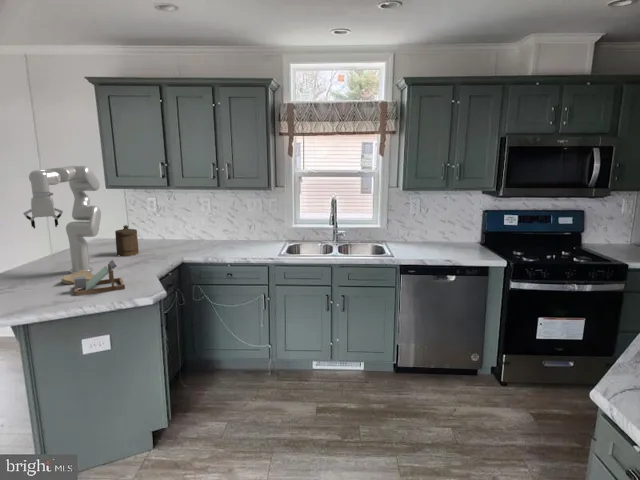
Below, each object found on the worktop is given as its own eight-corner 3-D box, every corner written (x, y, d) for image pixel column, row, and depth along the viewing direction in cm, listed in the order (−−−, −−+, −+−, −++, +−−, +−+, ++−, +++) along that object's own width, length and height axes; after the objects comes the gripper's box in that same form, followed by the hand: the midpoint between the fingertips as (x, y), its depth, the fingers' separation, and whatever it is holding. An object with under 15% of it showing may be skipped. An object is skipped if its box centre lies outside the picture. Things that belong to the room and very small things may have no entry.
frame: (74, 287, 218) (72, 267, 216) (121, 280, 230) (119, 262, 228) (75, 295, 204) (72, 275, 202) (125, 288, 216) (123, 269, 214)
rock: (100, 276, 241) (99, 269, 240) (96, 284, 227) (95, 277, 226) (66, 277, 235) (66, 270, 234) (60, 286, 221) (59, 278, 220)
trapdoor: (86, 285, 220) (84, 283, 219) (114, 261, 225) (112, 259, 224) (87, 292, 208) (85, 290, 207) (117, 266, 214) (114, 264, 213)
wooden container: (136, 251, 309) (134, 223, 304) (140, 255, 296) (138, 225, 292) (115, 253, 301) (113, 224, 296) (118, 257, 288) (115, 227, 284)
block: (85, 285, 216) (75, 286, 213) (85, 276, 215) (74, 277, 212) (86, 287, 211) (75, 288, 209) (85, 278, 211) (74, 279, 208)
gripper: (60, 194, 217) (64, 225, 220) (21, 195, 208) (25, 227, 211) (60, 195, 211) (64, 227, 214) (20, 196, 201) (25, 229, 205)
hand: (45, 227), depth 212 cm, fingers open, 9 cm apart
